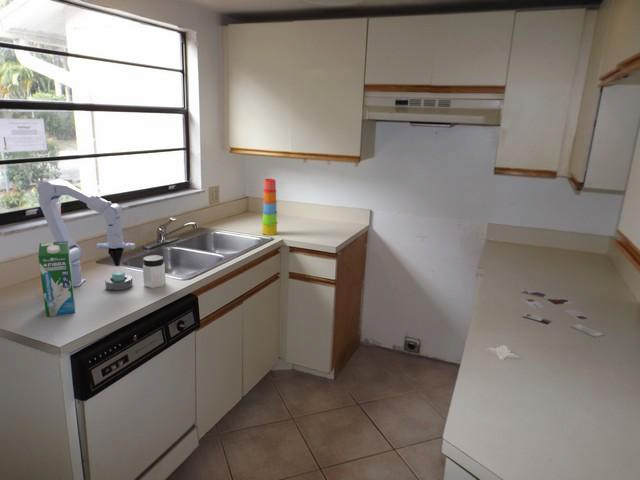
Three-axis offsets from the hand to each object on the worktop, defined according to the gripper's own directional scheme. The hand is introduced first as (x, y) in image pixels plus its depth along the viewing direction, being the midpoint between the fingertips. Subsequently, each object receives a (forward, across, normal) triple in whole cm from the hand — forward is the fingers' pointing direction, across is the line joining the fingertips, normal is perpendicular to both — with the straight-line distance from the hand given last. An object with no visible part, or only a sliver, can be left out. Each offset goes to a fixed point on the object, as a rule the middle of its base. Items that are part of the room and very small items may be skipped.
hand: (117, 265), depth 186 cm
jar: (+10, +14, +2) cm, 17 cm away
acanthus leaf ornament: (+10, +138, -65) cm, 152 cm away
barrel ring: (+9, 0, 0) cm, 9 cm away
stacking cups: (+10, +66, +89) cm, 111 cm away
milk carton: (+10, -14, -23) cm, 29 cm away
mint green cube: (+8, 0, 0) cm, 8 cm away
